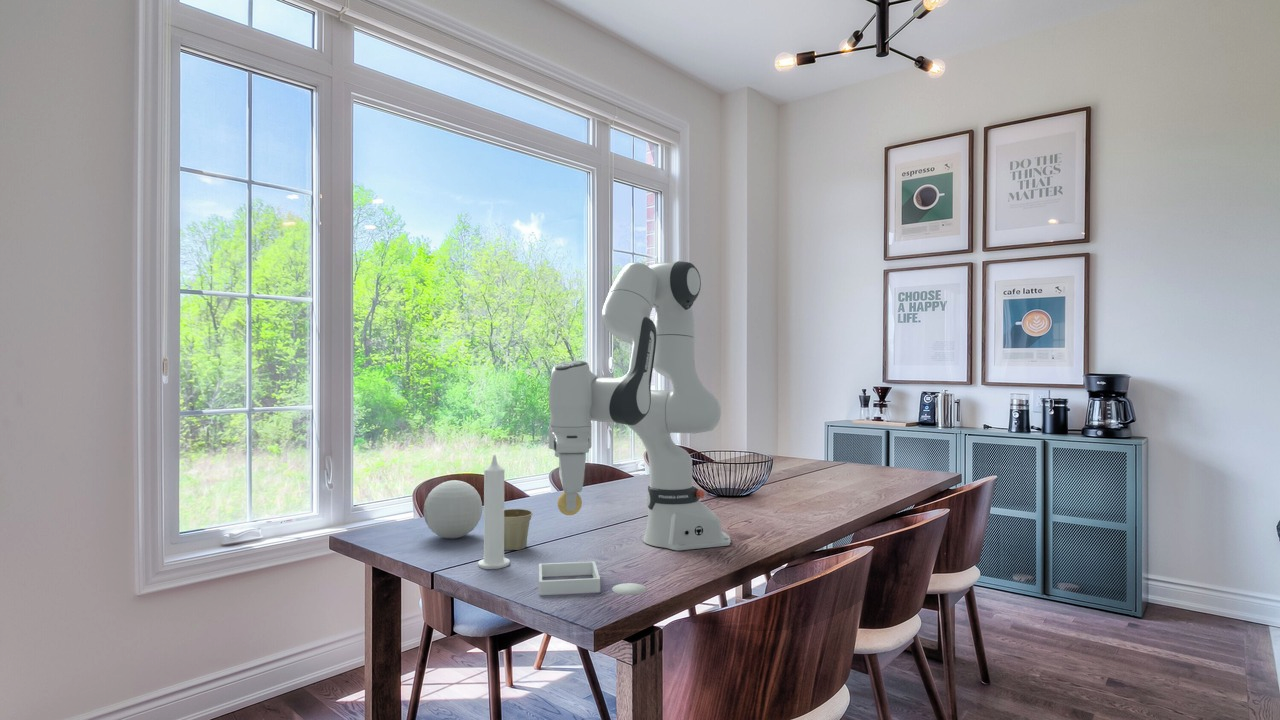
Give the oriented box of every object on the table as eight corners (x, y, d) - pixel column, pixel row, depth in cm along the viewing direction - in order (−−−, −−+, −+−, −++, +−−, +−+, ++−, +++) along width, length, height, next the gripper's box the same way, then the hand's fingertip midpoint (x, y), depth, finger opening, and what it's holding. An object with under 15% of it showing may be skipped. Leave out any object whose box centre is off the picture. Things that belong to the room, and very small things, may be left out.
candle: (480, 560, 155) (481, 452, 155) (511, 559, 156) (511, 452, 156) (475, 569, 148) (476, 457, 148) (507, 569, 148) (508, 456, 149)
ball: (580, 512, 140) (580, 488, 140) (582, 517, 135) (582, 492, 135) (556, 513, 139) (557, 489, 139) (557, 518, 134) (558, 493, 135)
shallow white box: (594, 575, 144) (594, 561, 144) (600, 593, 132) (600, 578, 132) (538, 577, 142) (538, 563, 142) (539, 597, 131) (539, 581, 131)
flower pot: (524, 553, 161) (524, 517, 161) (487, 551, 162) (488, 516, 163) (538, 543, 170) (538, 509, 170) (503, 541, 172) (503, 508, 172)
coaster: (643, 584, 138) (643, 582, 138) (649, 595, 132) (649, 593, 132) (610, 585, 137) (610, 583, 137) (614, 597, 130) (614, 595, 130)
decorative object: (443, 529, 185) (444, 474, 185) (492, 532, 181) (492, 477, 181) (411, 542, 170) (411, 484, 170) (463, 547, 166) (463, 487, 166)
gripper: (553, 434, 147) (552, 497, 147) (556, 445, 127) (556, 518, 127) (581, 434, 148) (581, 496, 148) (589, 445, 128) (589, 517, 128)
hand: (569, 506), depth 137 cm, fingers closed on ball, 5 cm apart
